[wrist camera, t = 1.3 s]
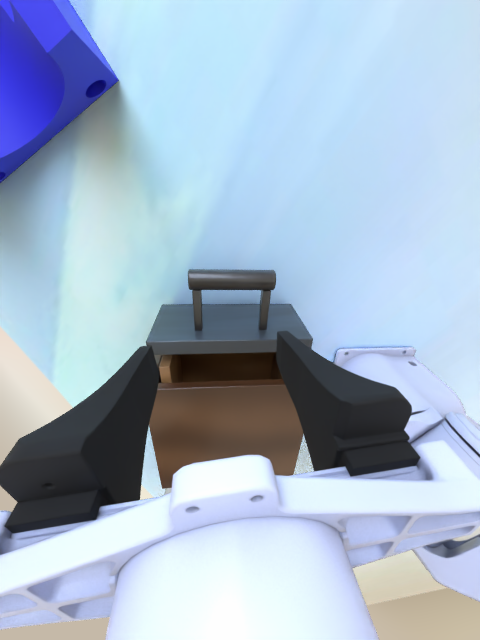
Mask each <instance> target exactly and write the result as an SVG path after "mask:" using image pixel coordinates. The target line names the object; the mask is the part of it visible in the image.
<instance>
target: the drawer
mask: <svg viewBox="0 0 480 640" xmlns="http://www.w3.org/2000/svg"><path fill="white" fill-rule="evenodd" d="M188 285H189V289H190V290H193V291H192V293H193V304H187V305H162V306H161V309H160V311H159V313H158V315H157V318H156V320H155V322H154V325H153V327H152V329H151V332H150V334H149V336H148V339H147V341H146V345H147V346H151V345H152V349H153V352H154V355H163V356H162V359H161V362H160V366H159V370H160V377H161V383H181V382H211V381H241V380H270V379H282V376H281V374H280V371H279V368H278V364H277V360H276V347H277V332H278V331H289V332H290V333H291V334H292V335H294V336H295V337H296V338H297V339H299V340H300V341H301V342H302V343H304V344H305V345H306V346H308V347H309V348H310V349H311V346H312V341H313V338H312V337H311V335H310V334H309V332H308V330H307V329H306V327H305V326H304V324H303V322H302V321H301V319H300V318H299V316H298V315H297V313H296V311H295V310H294V308H293V307H292V305H291V304H269V303H270V294H271V291H270V290H274V288H275V285H276V274H275V271H274V270H205V269H190V270H189V271H188ZM201 290H261V300H260V304H202V294H201Z"/></svg>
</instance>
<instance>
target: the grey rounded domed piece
mask: <svg viewBox="0 0 480 640" xmlns="http://www.w3.org/2000/svg"><path fill="white" fill-rule="evenodd" d="M478 534H480V526H479V527H478V528H477V529H476V530H475V531H474V532H473V533H472V534H471V535H467V536H463V537H458V538H454V539H452V540H455V541H462V540H468V539H470V538H472V537H474V536H476V535H478Z"/></svg>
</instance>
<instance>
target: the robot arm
mask: <svg viewBox="0 0 480 640" xmlns="http://www.w3.org/2000/svg"><path fill="white" fill-rule="evenodd" d="M346 352H347V353H346ZM415 352H416V350H415V349H414V348H413V347H396V348H350V349H339V350H338V351H337V353H336V356H335V360H334V363H332V362H330V361H328V360H327V359H325V358H323V357H322V356H320V355H319V354H317V353H316V352H314V351H313V350H312V349H310V348H309V347H308V346H306V345H305V344H304V343H302V342H301V341H300V340H299V339H297V338H296V337H295V336H294V335H292V334H291V333H290V332H289V331H278V332H277V347H276V360H277V364H278V368H279V371H280V374H281V376H282V379H283V381H284V383H285V385H286V388H287V390H288V392H289V394H290V397H291V399H292V401H293V403H294V406H295V408H296V411H297V414H298V417H299V420H300V423H301V426H302V430H303V433H304V436H305V440H306V443H307V446H308V450H309V453H310V457H311V461H312V464H313V468H314V472H308V473H302V474H296V475H290V476H282V475H275V474H274V470H273V466H272V464H271V462H270V460H269V459H267V458H265V457H263V456H261V455H244V456H237V457H231V458H224V459H218V460H212V461H205V462H199V463H193V464H190V465H187V466H183V467H182V468H181V469H179V470H178V471H177V472H176V473H175V474H174V475H173V480H172V489H171V493H169V494H166V495H164V496H161V497H156V498H150V499H144V500H140V490H141V480H142V470H143V461H144V452H145V445H146V438H147V431H148V426H149V422H150V418H151V414H152V410H153V406H154V402H155V398H156V394H157V389H158V382H159V370H158V366H157V363H156V359H155V356H154V352H153V349H152V345H151V346H142V347H140V348H139V349H138V350H137V351H136V352H135V353H134V354H133V355H132V356H131V357H130V359H129V360H128V361H127V362H126V363H125V364H124V365H123V366H122V367H121V368H120V369H119V370H118V371H117V372H116V373H115V374H114V375H113V376H112V377H111V378H110V379H109V380H108V381H107V382H106V383H105V384H104V385H102V386H101V387H100V388H99V389H98V390H97V391H95V392H94V393H93V394H92V395H90V396H89V397H88V398H86V399H85V400H84V401H82V402H81V403H79V404H78V405H77V406H75V407H74V408H72V409H71V410H70V411H68V412H66V413H65V414H63V415H62V416H60V417H58V418H57V419H55V420H53V421H52V422H51V423H48V424H46V425H45V426H43V427H41V428H39V429H37V430H36V431H33V432H32V433H30V434H28V435H26V436H24V437H22V438H20V439H19V440H18V442H17V443H16V444H15V446H14V447H13V448H12V450H11V451H10V453H9V454H8V456H7V457H6V458H5V460H4V461H3V463H2V464H1V466H0V485H1V487H2V488H3V489H4V490H6V491H7V492H8V493H9V494H10V495H11V496H12V497H13V498H14V499H15V500H16V501H17V502H18V503H17V504H16V506H15V508H14V510H13V512H10V511H0V630H2V629H9V628H15V627H23V626H31V625H40V624H49V623H59V622H67V621H77V620H86V619H96V618H105V617H110V619H109V624H108V629H107V634H106V639H105V640H379V638H378V635H377V632H376V630H375V627H374V625H373V622H372V619H371V617H370V614H369V611H368V609H367V606H366V603H365V601H364V598H363V596H362V593H361V590H360V588H359V585H358V582H357V580H356V577H355V574H354V572H353V569H352V568H355V567H358V566H361V565H364V564H367V563H371V562H374V561H377V560H380V559H383V558H387V557H390V556H393V555H396V554H399V553H403V552H406V551H409V550H412V551H413V552H414V553H415V554H416V556H417V557H418V558H419V560H420V561H421V562H422V564H423V565H424V566H425V568H426V569H427V570H428V571H429V572H430V574H431V575H432V577H433V578H434V580H436V581H437V582H438V583H440V584H442V585H444V586H445V587H448V588H450V589H452V590H454V591H456V592H459V593H461V594H463V595H465V596H468V597H470V598H472V599H475V600H476V601H479V602H480V534H478V535H476V536H474V537H472V538H470V539H468V540H462V541H455V540H452V539H454V538H458V537H463V536H467V535H471V534H472V533H473V532H474V531H475V530H476V529H477V528H478V527H479V526H480V425H479V424H478V423H477V422H475V421H474V420H473V419H471V418H470V417H468V416H467V415H466V412H465V409H464V407H463V404H462V402H461V401H460V399H459V397H458V396H457V395H456V393H455V392H454V391H453V390H452V389H451V388H450V387H448V386H447V385H446V384H445V383H444V382H443V381H441V380H440V379H439V378H438V377H437V376H436V375H435V374H433V373H432V372H431V371H430V370H429V369H428V368H426V367H425V366H424V365H423V364H422V363H421V362H420V361H418V360H417V359H416V358H415V357H414V355H415ZM344 353H345V354H344Z"/></svg>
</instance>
